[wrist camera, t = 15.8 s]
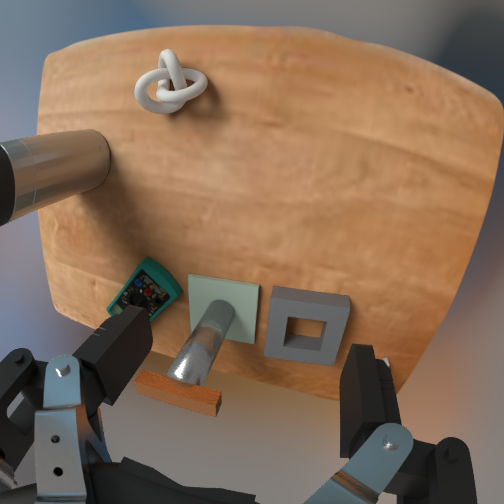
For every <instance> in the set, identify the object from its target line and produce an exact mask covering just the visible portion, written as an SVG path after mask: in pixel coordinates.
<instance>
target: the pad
mask: <svg viewBox="0 0 504 504" xmlns="http://www.w3.org/2000/svg"><path fill="white" fill-rule="evenodd" d="M259 285H260V284H253V283H247V282H240V281H234V280H227V279H221V278H215V277H208V276H202V275H196V274H189V275H188V294H189V311H190V326H191V332H193V330H194V328H195V327H196V325H197V324H198V322H199V320H200V319H201V317H202V316H203V314H204V312H205V311H206V309H207V308H208V306H209V304H210V303H211V302H212V301H214V300H224V301H227V302H228V303H230V304H231V305H232V306H233V308H234V310H235V317H234V319H233V321H232V324H231V326H230V328H229V330H228V332H227V334H226V336H225V339H227V340H233V341H238V342H244V343H249V344H254V342H255V332H256V320H257V309H258V297H259Z"/></svg>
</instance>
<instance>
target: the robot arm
mask: <svg viewBox="0 0 504 504" xmlns="http://www.w3.org/2000/svg"><path fill="white" fill-rule="evenodd" d="M109 167H110V151H109V148H108V145H107V142H106V140H105V139H104V137H103V136H102V135H101V134H100V133H99V132H97V131H95V130H90V129H89V130H78V131H67V132H59V133H51V134H44V135H37V136H31V137H25V138H19V139H14V140H9V141H4V142H0V226H2V225H4V224H6V223H9V222H11V221H13V220H15V219H17V218H20V217H22V216H24V215H26V214H28V213H31V212H33V211H35V210H38V209H40V208H43V207H45V206H48V205H50V204H53V203H55V202H58V201H60V200H63V199H66V198H68V197H71V196H74V195H76V194H79V193H82V192H85V191H88V190H91V189H93V188H96V187H98V186H99V185H100V184H101V183H102V182H103V181H104V180H105V178H106V176H107V174H108V171H109ZM152 343H153V337H152V331H151V325H150V319H149V313H148V310H147V309H146V308H142V307H137V306H133V305H128V306H127V307H126V308H125V309H124V310H123V311H122V312H121V313H120V314H115V315H113V316H112V317H110V318H108V319H106V320H105V321H104V322H103V323H102V324H101V325H100V326H99V328H97V329H96V330H95V332H94V334H92V335H91V336H90V337H89V338H88V339H87V340H86V341H85V342H84V343H83V344H82V345H81V346H80V347H79V348H78V349H77V350H76V352H75V353H74V354H73V355H72V356H71V355H60V356H57V357H55V358H53V359H52V360H51V361H50V362H43V361H37V360H35V359H34V357H33V355H32V353H31V351H30V350H28V349H26V348H19V349H15V350H13V351H12V352H10V353H9V354H8V355H7V356H6V357H5V358H4V359H3V360H2V361H1V362H0V504H259V503H257V502H255V497H256V495H252V494H246V493H241V492H236V491H231V490H226V489H222V488H200V487H186V486H182V485H180V484H178V483H176V482H175V481H173V480H171V479H170V478H168V477H166V476H165V475H163V474H161V473H160V472H158V471H157V470H155V469H154V468H151V467H149V466H146V465H143V464H141V463H139V462H136V461H134V460H131V459H129V458H126V457H124V458H123V460H122V461H121V463H117V462H112V460H111V458H110V455H109V453H108V450H107V447H106V442H105V437H104V431H103V425H102V418H101V412H100V408H99V406H100V404H101V403H102V402H104V403H106V404H109V405H111V406H113V404H114V403H115V401H116V400H117V398H118V397H119V395H120V394H121V392H122V391H123V390H124V388H125V387H126V385H127V384H128V382H129V381H130V379H131V378H132V377H133V375H134V374H135V372H136V371H137V369H138V367H139V366H140V365H141V364H142V362H143V361H144V359H145V357H146V356H147V355H148V353H149V352H150V350H151V348H152ZM392 381H393V379H392V374H391V370H390V368H389V367H388V365H387V364H386V363H385V361H384V360H383V359H375V355H374V350H373V346H372V345H364V344H352V345H351V348H350V350H349V353H348V356H347V359H346V362H345V365H344V368H343V370H342V374H341V378H340V458H349V461H348V462H347V463H346V464H345V466H343V467H342V469H341V470H340V471H339V472H337V473H335V474H334V475H333V476H332V477H331V478H330V479H329V480H328V481H327V482H326V483H325V484H324V485H323V486H322V487H321V488H319V489H318V490H317V491H316V492H315V493H314V494H313V495H312V496H311V497H310V498H309V499H307V500H306V501H305V502H304V503H303V504H376V503H377V501H378V497H379V495H380V494H381V493H382V492H386V493H391V494H396V495H397V504H477V496H476V488H475V480H474V474H473V468H472V462H471V457H470V452H469V449H468V447H467V445H466V444H465V443H464V442H463V441H462V440H460V439H458V438H454V437H448V438H445V439H443V440H441V441H440V442H439V443H438V444H437V445H435V444H430V443H425V442H422V441H418V440H415V439H413V437H412V435H411V433H410V432H409V430H408V429H407V428H405V427H404V426H402V424H401V419H400V413H399V408H398V403H397V398H396V393H395V391H394V389H395V388H394V383H393V382H392ZM19 392H21V394H22V395H23V397H24V399H23V401H22V402H21V403H20V404H19V406H18V407H17V408H16V410H15V411H14V412H13V414H12V415H11V416H10V418H8V417H7V408H8V406H9V405H10V404H11V402H12V401H13V400H14V399H15V397H16V396H17V395H18V394H19ZM34 441H35V468H36V482H37V483H34V484H30V485H26V486H23V487H19V488H17V486H18V484H17V481H16V480H15V479H14V477H15V476H14V472H15V471H16V469H17V467H18V466H19V464H20V462H21V461H22V459H23V457H24V456H25V454H26V453H27V451H28V450H29V448H30V447H31V445H32V444H33V442H34Z"/></svg>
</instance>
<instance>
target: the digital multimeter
mask: <svg viewBox="0 0 504 504" xmlns="http://www.w3.org/2000/svg"><path fill="white" fill-rule="evenodd" d="M181 292H182V289H181V287H180V286H179V285H178V283H177V282H176V280H175V279H174V278H173V277H172V276H171V274H170V273H169V272H168V271H167V270H166V269H164V268H163V267H162V266H161V265H159V264H158V263H157V262H155V261H153V260H152V259H150V258H149V257H147V258H146V259H144V260H143V261H142V262H141V263H140V264H139V266H138V267H137V269H136V270H135V272H134V273H133V275H132V276H131V278H130V279H129V280H128V282H127V283H126V285H125V286H124V287H123V289H122V290H121V291H120V293H119V294H118V295H117V296H116V298H115V299H114V300H113V301H112V302H111V304H110V305H109V306H108V307H107V312H108V313H109V314H110V315H111V316H113V315H115V314H120V313H121V312H122V311H123V310H124V309H125V308H126V307H127V306H128V305H133V306H137V307H142V308H146V309H147V310H148V313H149V319H150V323H151V321H152V320H153V319H154V318H155V317H156V316H157V315H158V314H160V313H161V312H162V311H163V310H164V309H165V308H166V307H167V306H168V305H169V304H171V303H172V302H173V301H174V300H175V299H176V298H177V297H178V296H179V295H180V293H181Z"/></svg>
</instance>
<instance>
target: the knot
mask: <svg viewBox="0 0 504 504" xmlns="http://www.w3.org/2000/svg"><path fill="white" fill-rule="evenodd" d="M170 79H172V82H173V85H174V88H175V91H169V88H170ZM185 79H187V80H192V81H194V82H195V83H194V84H193V85H192V86H190V87H188V88H187V84H186V80H185ZM156 81H158V89H157V92H156V96H157V98H158V99H159V100H160V101H161V102H163V103H160V102H157V101H154V100H153V99H151V98H150V97H149V96H148V94H147V88H148V86H149V85H150V84H151V83H153V82H156ZM207 83H208V81H207V78H206V76H205V75H204V74H203V73H202V72H200V71H197V70H194V69H189V68H181V65H180V63H179V60H178V58H177V56H176V54H175V53H174V52H173V51H172V50H169V49H166V50H164V51H162V52H161V54H160V57H159V66H158V69H156V70H153V71H150V72H148V73H146V74H145V75H143V76H142V77H141V78H140V79H139V80H138V82H137V83H136V86H135V92H134V93H135V98H136V100H137V102H138V103H139V104H140V105H141V106H142V107H143V108H144V109H146V110H148V111H150V112H153V113H157V114H168V113H172V112H175V111H177V110H179V109H180V108H181V107H182V106H183V105H184V104H185V102H186V101H188V100H190V99H193V98H195V97H197V96H198V95H200V94H201V93H202V92H203V91H204V90H205V89H206V87H207Z"/></svg>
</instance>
